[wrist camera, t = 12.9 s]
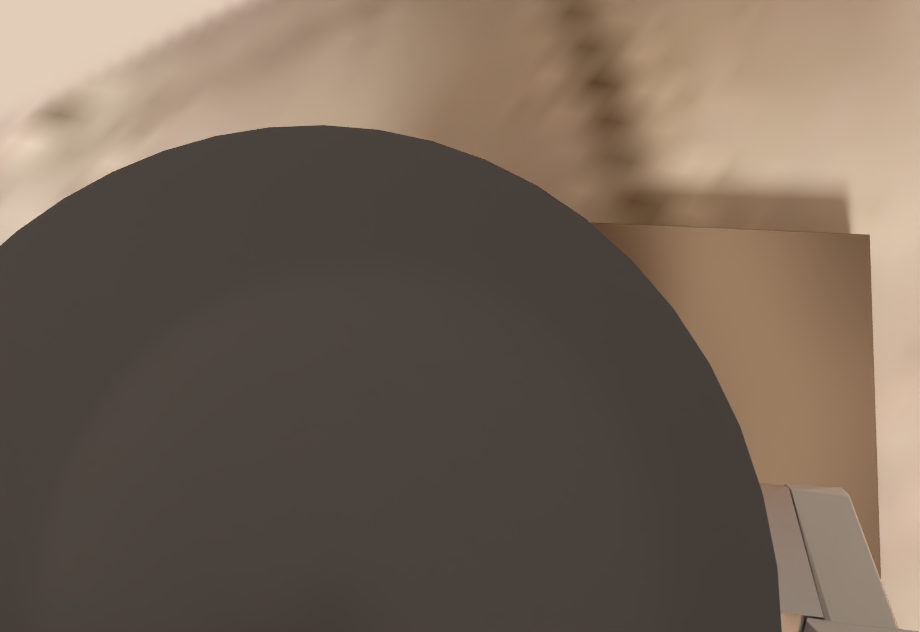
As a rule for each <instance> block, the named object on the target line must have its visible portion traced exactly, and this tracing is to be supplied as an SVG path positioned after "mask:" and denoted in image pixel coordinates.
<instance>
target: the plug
mask: <svg viewBox="0 0 920 632" xmlns="http://www.w3.org/2000/svg"><path fill="white" fill-rule="evenodd" d="M0 632H782V627H781V612H780V598H779V583H778V568H777V563H776V558H775V552H774V547H773V542H772V537H771V532H770V527H769V522H768V517H767V512H766V507H765V502H764V497H763V493H762V490H761V487H760V484H759V481H758V478H757V475H756V472H755V469H754V466H753V463H752V460H751V457H750V454H749V451H748V448H747V445H746V442H745V439H744V436H743V433H742V430H741V427H740V425H739V423H738V421H737V419H736V416H735V414H734V412H733V410H732V408H731V406H730V404H729V402H728V400H727V398H726V396H725V394H724V392H723V390H722V388H721V386H720V384H719V382H718V380H717V377H716V375H715V373H714V371H713V369H712V367H711V365H710V363H709V362H708V360H707V359H706V357H705V356H704V354H703V353H702V351H701V350H700V348H699V346H698V345H697V343H696V342H695V340H694V339H693V337H692V336H691V334H690V333H689V331H688V330H687V328H686V327H685V325H684V324H683V322H682V321H681V319H680V318H679V316H678V315H677V313H676V312H675V310H674V309H673V307H672V306H671V305H670V304H669V303H668V301H667V300H666V299H665V298H664V297H663V296H662V295H661V293H660V292H659V291H658V290H657V289H656V288H655V286H654V285H653V284H652V283H651V282H650V281H649V279H648V278H647V277H646V276H645V275H644V274H643V273H642V271H641V270H640V269H639V268H638V267H637V266H636V264H635V263H634V262H633V261H632V260H631V259H630V258H629V257H628V256H627V255H626V254H624V253H623V252H622V251H621V250H620V249H619V248H618V247H617V246H615V245H614V244H613V243H612V242H611V241H610V240H609V239H608V238H606V237H605V236H604V235H603V234H602V233H601V232H600V231H599V230H597V229H596V228H595V227H594V226H593V225H592V224H591V223H590V222H588V221H587V220H586V219H585V218H583V217H582V216H580V215H579V214H577V213H576V212H575V211H573V210H572V209H570V208H569V207H567V206H566V205H564V204H563V203H561V202H560V201H558V200H557V199H555V198H554V197H552V196H551V195H550V194H548V193H547V192H545V191H544V190H542V189H541V188H539V187H538V186H536V185H534V184H532V183H530V182H528V181H526V180H524V179H522V178H520V177H518V176H516V175H514V174H512V173H510V172H508V171H506V170H504V169H502V168H500V167H498V166H496V165H494V164H492V163H490V162H488V161H486V160H484V159H481V158H478V157H475V156H473V155H470V154H467V153H464V152H461V151H458V150H455V149H453V148H450V147H447V146H444V145H441V144H438V143H435V142H433V141H428V140H423V139H419V138H414V137H409V136H405V135H400V134H395V133H390V132H386V131H381V130H373V129H361V128H349V127H337V126H325V125H321V126H296V127H271V128H263V129H257V130H251V131H245V132H239V133H232V134H226V135H220V136H215V137H211V138H208V139H204V140H201V141H197V142H194V143H190V144H187V145H183V146H180V147H176V148H173V149H169V150H165V151H162V152H160V153H157V154H155V155H153V156H150V157H148V158H145V159H143V160H141V161H138V162H136V163H133V164H131V165H128V166H126V167H124V168H121V169H119V170H116V171H114V172H112V173H110V174H108V175H106V176H104V177H103V178H101V179H99V180H97V181H95V182H93V183H92V184H90V185H88V186H86V187H84V188H82V189H81V190H79V191H77V192H75V193H73V194H71V195H70V196H68V197H66V198H64V199H63V200H61V201H60V202H58V203H57V204H55V205H54V206H53V207H51V208H50V209H48V210H47V211H45V212H44V213H43V214H41V215H40V216H38V217H37V218H35V219H34V220H33V221H31V222H30V223H28V224H27V225H25V226H24V227H22V228H21V229H20V230H18V231H17V232H16V233H15V234H13V235H12V236H11V237H10V238H9V239H8V240H6V241H5V242H4V243H3V244H2V245H1V246H0Z"/></svg>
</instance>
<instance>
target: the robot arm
mask: <svg viewBox="0 0 920 632" xmlns="http://www.w3.org/2000/svg"><path fill="white" fill-rule="evenodd" d="M759 484H760V487H761V490H762V493H763V497H764V502H765V507H766V512H767V517H768V522H769V527H770V532H771V537H772V542H773V547H774V552H775V558H776V563H777V568H778V583H779V598H780V612H781V627H782V632H918V631H911V630H903V629H899V628H898V625H897V622H896V620H895V617H894V614H893V612H892V609H891V606H890V604H889V601H888V598H887V595H886V593H885V590H884V587H883V585H882V582H881V579H880V577H879V574H878V571H877V568H876V566H875V563H874V560H873V558H872V555H871V552H870V550H869V547H868V544H867V542H866V539H865V536H864V533H863V531H862V528H861V525H860V523H859V520H858V517H857V515H856V512H855V509H854V507H853V504H852V501H851V498H850V496H849V494H848V493H847V492H846V491H845V490H843V489H842V488H841V487H829V486H814V485H799V484H785V485H780V484H768V483H759Z"/></svg>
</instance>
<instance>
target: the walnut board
mask: <svg viewBox="0 0 920 632" xmlns="http://www.w3.org/2000/svg"><path fill="white" fill-rule="evenodd" d="M591 224H592V225H593V226H594V227H595V228H596V229H597V230H599V231H600V232H601V233H602V234H603V235H604V236H605V237H606V238H608V239H609V240H610V241H611V242H612V243H613V244H614V245H615V246H617V247H618V248H619V249H620V250H621V251H622V252H623V253H624V254H626V255H627V256H628V257H629V258H630V259H631V260H632V261H633V262H634V263H635V264H636V266H637V267H638V268H639V269H640V270H641V271H642V273H643V274H644V275H645V276H646V277H647V278H648V279H649V281H650V282H651V283H652V284H653V285H654V286H655V288H656V289H657V290H658V291H659V292H660V293H661V295H662V296H663V297H664V298H665V299H666V300H667V301H668V303H669V304H670V305H671V306H672V307H673V309H674V310H675V312H676V313H677V315H678V316H679V318H680V319H681V321H682V322H683V324H684V325H685V327H686V328H687V330H688V331H689V333H690V334H691V336H692V337H693V339H694V340H695V342H696V343H697V345H698V346H699V348H700V350H701V351H702V353H703V354H704V356H705V357H706V359H707V360H708V362H709V363H710V365H711V367H712V369H713V371H714V373H715V375H716V377H717V380H718V382H719V384H720V386H721V388H722V390H723V392H724V394H725V396H726V398H727V400H728V402H729V404H730V406H731V408H732V410H733V412H734V414H735V416H736V419H737V421H738V423H739V425H740V427H741V430H742V433H743V436H744V439H745V442H746V445H747V448H748V451H749V454H750V457H751V460H752V463H753V466H754V469H755V472H756V475H757V478H758V481H759V483H768V484H780V485H785V484H799V485H814V486H829V487H841V488H842V489H843V490H845V491H846V492H847V493H848V494H849V496H850V498H851V501H852V504H853V507H854V509H855V512H856V515H857V517H858V520H859V523H860V525H861V528H862V531H863V533H864V536H865V539H866V542H867V544H868V547H869V550H870V552H871V555H872V558H873V560H874V563H875V566H876V568H877V571H878V574H879V577H880V579H881V568H880V538H879V507H878V477H877V447H876V416H875V386H874V356H873V325H872V295H871V265H870V235H864V234H841V233H818V232H795V231H772V230H748V229H725V228H702V227H679V226H656V225H633V224H610V223H591Z"/></svg>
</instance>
